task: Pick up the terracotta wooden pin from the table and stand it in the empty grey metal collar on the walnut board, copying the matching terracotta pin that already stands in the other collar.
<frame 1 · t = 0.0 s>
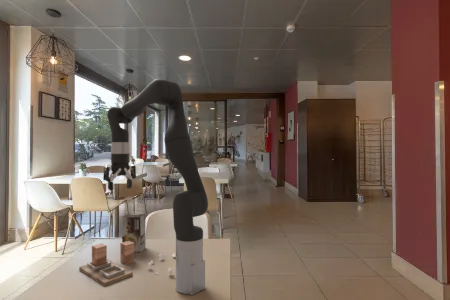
hand: (120, 189, 127), 29 cm above the table, tool pointing down, fingers open, 8 cm apart
coffee box: (134, 249, 135), on the table
pin: (127, 262, 120), on the table
layout board: (105, 272, 110), on the table
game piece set: (172, 267, 117), on the table
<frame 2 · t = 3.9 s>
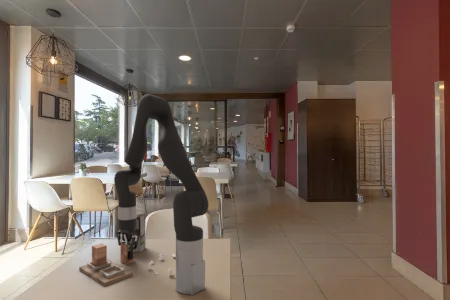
hand: (127, 257, 120), 2 cm above the table, tool pointing down, fingers closed on pin, 4 cm apart
pin: (127, 261, 120), on the table, touching gripper
everything else where it was.
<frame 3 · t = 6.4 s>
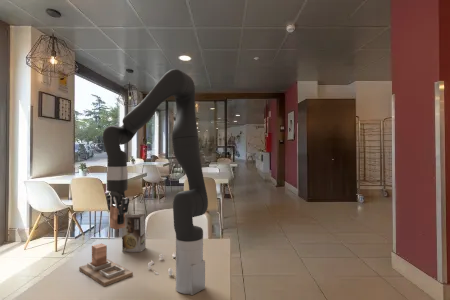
hand: (117, 222, 110), 19 cm above the table, tool pointing down, fingers closed on pin, 4 cm apart
pin: (117, 227, 110), point 17 cm above the table, touching gripper
everything else where it was.
when the fingers open (4 cm above the table, at t = 9.4 s): pin drops 1 cm, resting on layout board.
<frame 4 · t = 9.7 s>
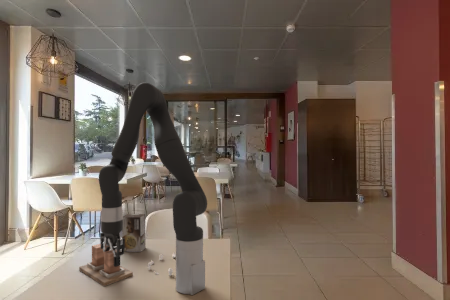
hand: (112, 263, 107), 5 cm above the table, tool pointing down, fingers open, 6 cm apart
pin: (112, 273, 107), point 1 cm above the table, touching layout board
everything else where it was.
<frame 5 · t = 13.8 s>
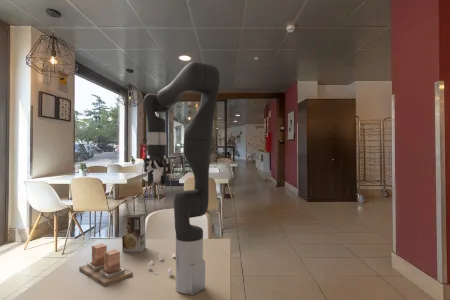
hand: (156, 183, 117), 33 cm above the table, tool pointing down, fingers open, 8 cm apart
nothing on the table moved.
at the end: pin 0.0 cm from the target spot on the layout board, point 1.2 cm above the layout board's base; pin tilted 0°; the gripper is holding nothing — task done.
